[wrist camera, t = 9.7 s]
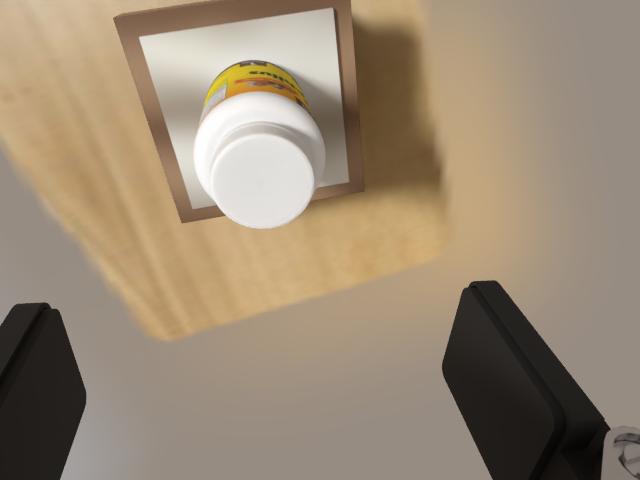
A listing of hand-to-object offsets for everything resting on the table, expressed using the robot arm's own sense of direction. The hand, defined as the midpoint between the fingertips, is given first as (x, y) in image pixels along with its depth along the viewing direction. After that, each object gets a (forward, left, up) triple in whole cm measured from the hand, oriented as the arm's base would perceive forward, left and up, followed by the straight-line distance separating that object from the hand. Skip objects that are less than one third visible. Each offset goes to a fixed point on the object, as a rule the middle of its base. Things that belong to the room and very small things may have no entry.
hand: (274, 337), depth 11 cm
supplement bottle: (0, 0, -18) cm, 18 cm away
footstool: (0, 0, -26) cm, 26 cm away
